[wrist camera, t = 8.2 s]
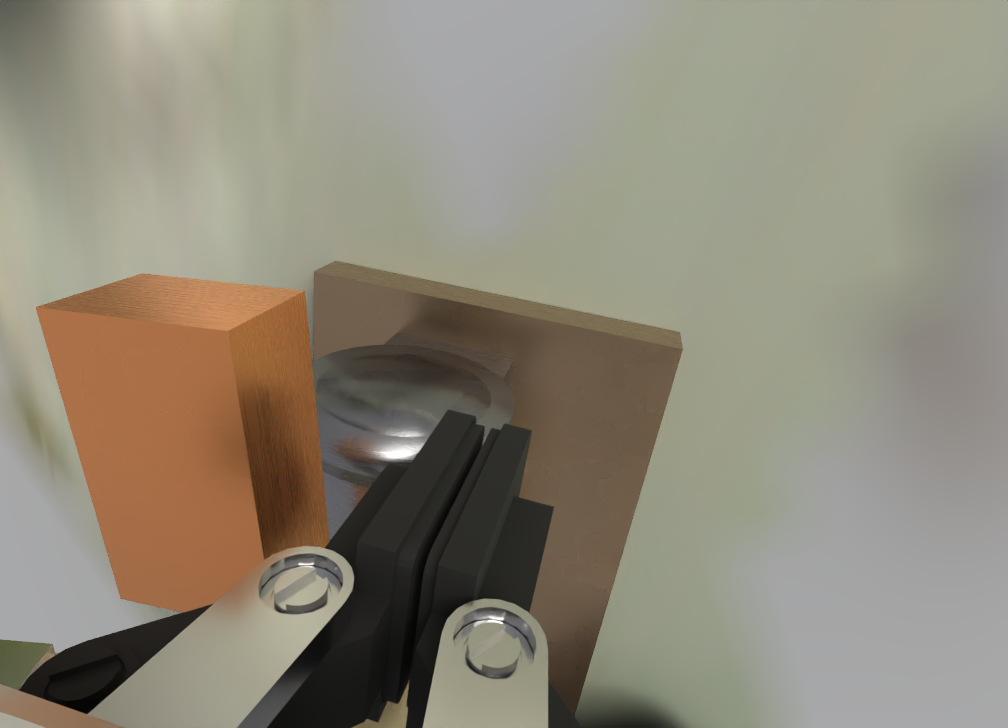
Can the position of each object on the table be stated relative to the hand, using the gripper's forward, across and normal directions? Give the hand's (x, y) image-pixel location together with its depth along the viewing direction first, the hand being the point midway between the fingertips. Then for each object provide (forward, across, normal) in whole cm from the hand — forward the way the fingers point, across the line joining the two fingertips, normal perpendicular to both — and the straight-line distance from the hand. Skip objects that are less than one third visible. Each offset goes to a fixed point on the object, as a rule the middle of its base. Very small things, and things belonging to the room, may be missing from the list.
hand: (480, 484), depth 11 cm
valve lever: (-2, +3, +3) cm, 5 cm away
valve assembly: (+10, +3, +9) cm, 14 cm away
